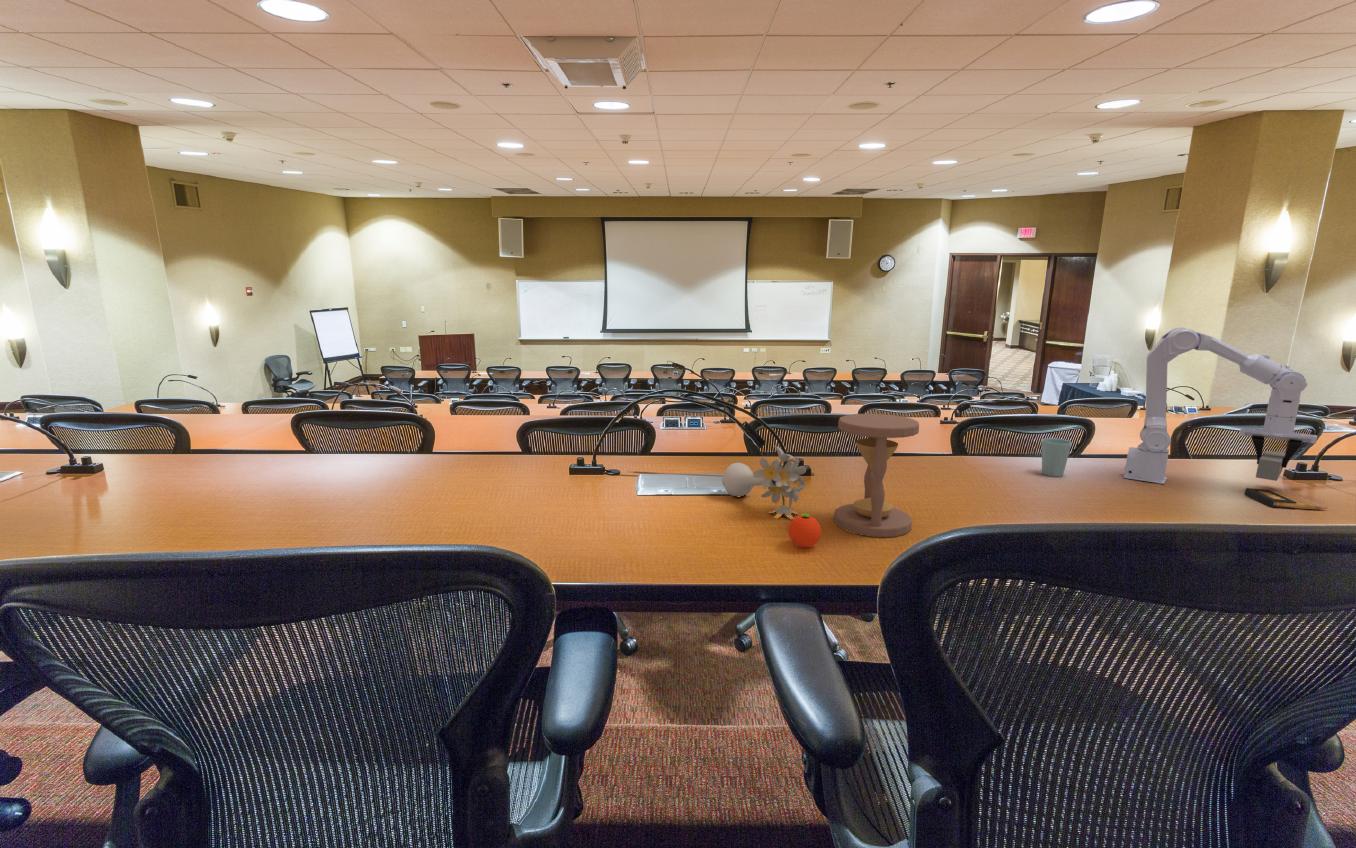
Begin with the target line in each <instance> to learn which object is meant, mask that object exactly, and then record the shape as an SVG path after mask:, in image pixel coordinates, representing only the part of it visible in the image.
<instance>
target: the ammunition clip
mask: <svg viewBox="0 0 1356 848" xmlns="http://www.w3.org/2000/svg"><path fill="white" fill-rule="evenodd" d="M1244 495H1245V496H1247V497H1249V498H1251V499H1253V500H1256V501H1258V502H1260V503H1262V504H1264V505H1266V506H1268V507H1269V508H1281V509H1290V510H1295V509H1299V510H1300V509H1301V510H1327V509H1328V507H1327V506H1324V505H1323V504H1321V503H1317V502H1315V501H1312V500H1310V499H1308V498H1306V497H1303V496H1302V495H1298V494H1295V493H1294V494H1293V493H1289V492H1288V493H1287V492H1283V491H1273V490H1269V489H1261V488H1250V487H1245V490H1244Z"/></svg>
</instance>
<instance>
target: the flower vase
mask: <svg viewBox="0 0 1356 848" xmlns="http://www.w3.org/2000/svg"><path fill="white" fill-rule="evenodd" d="M774 448H775V450H776V452H777V455H778V458H779V460H780V461H779V460H778V459H775V460H773V461H772V462H771V463H769V461H768V460H767V459H766V458H765V457H761V458H759V464H760V467H761V469H757V470H755V471H752V469H751V468H750V467H749V466H748V465H747V464H745V463H743V462H733V463H732V464H730V465H728V467H727V468H726V469H725V471H724V472H723V474H722V479H721V482H722V486H723V487H724V489H725V490H726V492H727V493H728V494H729V495H730V496H732V497H734V496H743V497H745V496H747V495H749V494H750V492H751V491H752V490H753V488H754V487H756V486H762V489H765V490H766V489H767V491H765V492H764V493H763V494H761V497H762V498H769V497H771V501H772V503H774V504H776V503H778V502H779V501H780V499H781V498H782V499H781V500H782V506H779V507H778V508H776V509H773V510H774V511H775V512H776V513H777V514H783V515H784V514H786V515H791V514H792V512H795V511H794V510H793V509H790V508H791V506H792V504H793V501H794V502H795V503H797V502H798V501H799V498H800V494H799V493H800V492H801V491H803V490H804V489H805V487H806V485H807V484H806V482H805V480H804V478H803V477H802V475H804V474H805V473H806V472H807V467H806V466H804V465H800V466H799V463H800V460H799V457H798V456H793V455H791V454H788V453H785V452H784V450H783V449H782V448H780V447H779V446H778V445H777V446H776V445H774ZM784 462H786V463H785V465H784V466H783V467H782V463H784ZM792 463H793V464H792ZM791 482H793V483H794V484H796V485H797V483H799V485H797V486H795V487H792V483H791ZM744 495H745V496H744ZM785 498H789V499H788V500H789V501H788V502H789V503H788V507H787V506H786V501H785ZM776 513H775V514H776Z"/></svg>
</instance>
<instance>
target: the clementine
mask: <svg viewBox="0 0 1356 848" xmlns="http://www.w3.org/2000/svg"><path fill="white" fill-rule="evenodd" d="M787 530H788V537H789V539H790V540H791V542H792V543H793V544H794V545H796V546H797V547H799V548H805V549H808V548H811V547H813V546H815V545H816V544H817V543H818V542H819V540H820V539H821V536H822V529H821V524H820V523H819V521H818V520H817V519H816V518H814V517H813V516H811V515H810V514H809V513H802V514H800V515H799V514H798V515H797V516H796V517H794V519H793V520H792V519H791V521H790V522H789V525H788V529H787Z"/></svg>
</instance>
